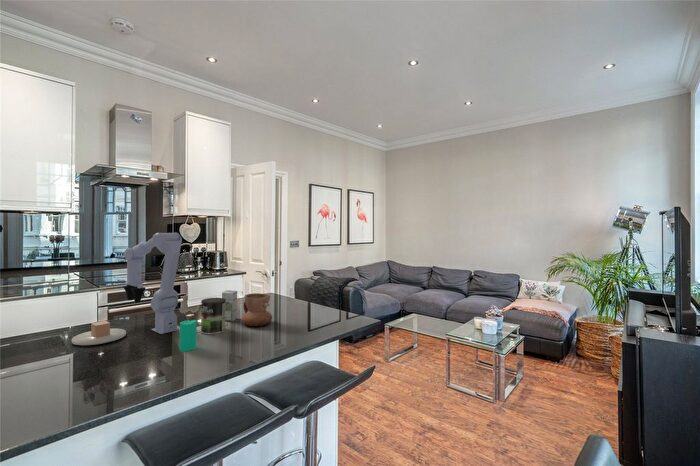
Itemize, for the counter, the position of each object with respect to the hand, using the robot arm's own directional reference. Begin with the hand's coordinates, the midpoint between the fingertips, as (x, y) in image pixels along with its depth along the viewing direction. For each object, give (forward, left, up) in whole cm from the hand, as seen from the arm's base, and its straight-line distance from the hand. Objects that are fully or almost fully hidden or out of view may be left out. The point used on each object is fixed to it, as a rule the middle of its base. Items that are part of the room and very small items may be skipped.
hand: (134, 301), depth 160 cm
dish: (-14, +18, -10) cm, 25 cm away
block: (-14, +18, -9) cm, 24 cm away
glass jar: (-40, -17, -11) cm, 45 cm away
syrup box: (-30, -32, -11) cm, 45 cm away
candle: (-52, +1, -11) cm, 53 cm away
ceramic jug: (-46, -36, -11) cm, 59 cm away
